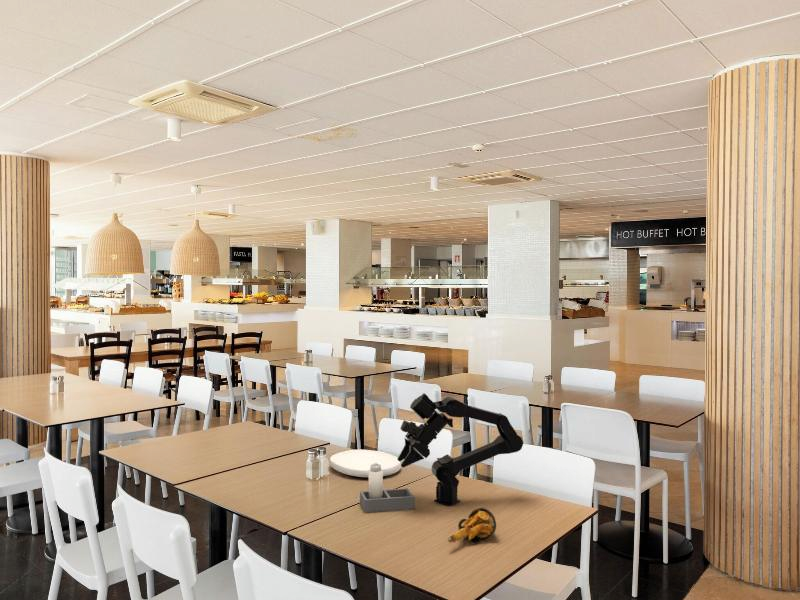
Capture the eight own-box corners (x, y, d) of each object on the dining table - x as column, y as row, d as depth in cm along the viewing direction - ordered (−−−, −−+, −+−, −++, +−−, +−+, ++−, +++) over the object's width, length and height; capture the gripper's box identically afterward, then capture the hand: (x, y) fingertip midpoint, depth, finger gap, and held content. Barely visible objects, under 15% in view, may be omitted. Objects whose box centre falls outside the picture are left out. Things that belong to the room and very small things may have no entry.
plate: (413, 455, 244) (380, 473, 221) (411, 471, 245) (378, 490, 221) (354, 439, 257) (317, 454, 234) (352, 454, 258) (315, 470, 234)
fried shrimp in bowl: (508, 520, 176) (484, 518, 162) (489, 553, 176) (463, 555, 161) (483, 501, 181) (458, 498, 167) (465, 534, 181) (438, 533, 167)
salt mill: (384, 502, 200) (384, 461, 200) (380, 506, 195) (380, 465, 195) (370, 501, 201) (370, 460, 201) (366, 505, 196) (367, 464, 196)
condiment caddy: (407, 500, 205) (407, 488, 205) (414, 509, 197) (414, 496, 197) (359, 503, 201) (360, 491, 201) (364, 512, 193) (364, 500, 193)
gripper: (410, 408, 212) (379, 441, 210) (418, 415, 193) (385, 452, 191) (433, 429, 212) (403, 463, 210) (443, 439, 194) (410, 476, 192)
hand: (400, 463), depth 201 cm, fingers open, 9 cm apart
